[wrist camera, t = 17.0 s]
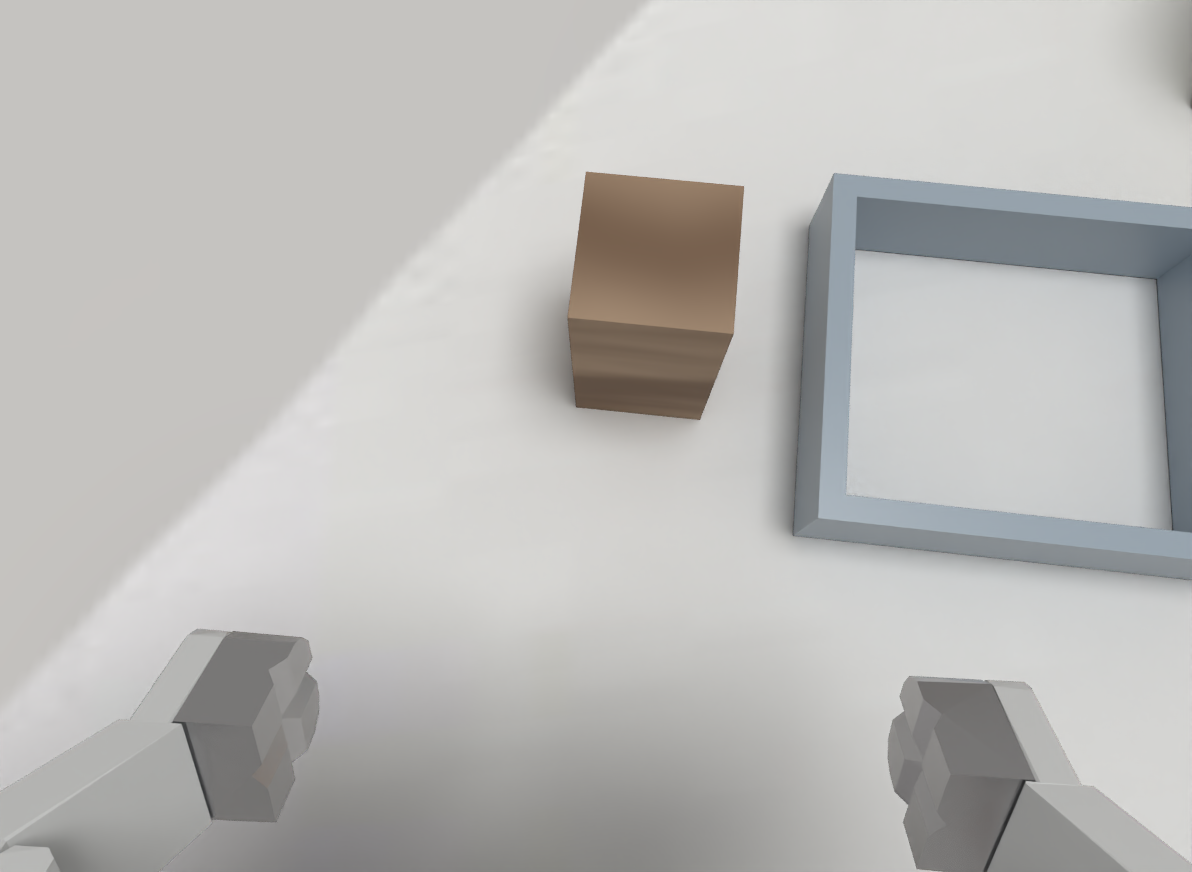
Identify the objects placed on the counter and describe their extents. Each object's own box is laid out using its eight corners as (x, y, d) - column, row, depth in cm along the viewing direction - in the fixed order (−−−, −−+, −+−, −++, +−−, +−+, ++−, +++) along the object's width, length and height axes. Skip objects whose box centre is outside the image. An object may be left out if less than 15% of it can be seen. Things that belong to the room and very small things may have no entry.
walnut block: (699, 419, 30) (733, 334, 22) (576, 407, 30) (567, 317, 23) (709, 305, 31) (744, 186, 24) (590, 293, 31) (585, 171, 24)
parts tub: (1200, 580, 28) (1281, 569, 25) (792, 535, 29) (818, 517, 26) (1177, 261, 32) (1246, 212, 28) (809, 225, 32) (834, 173, 29)
